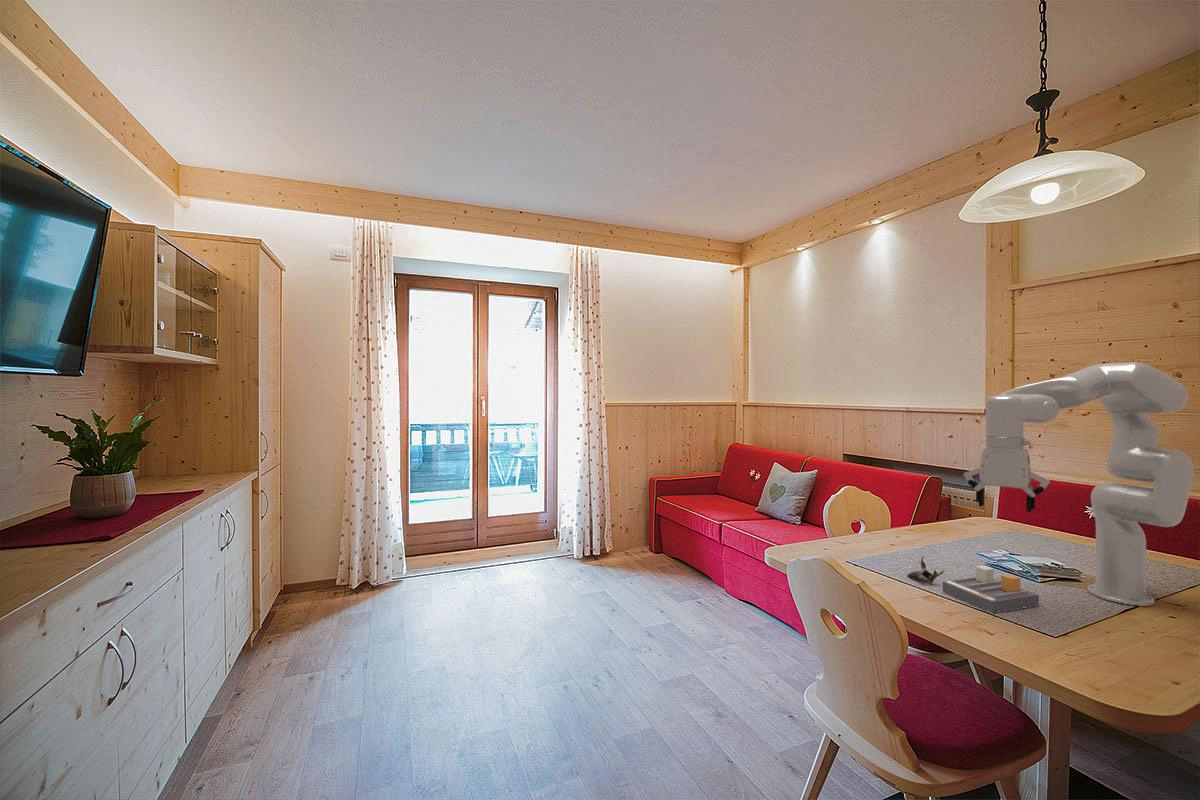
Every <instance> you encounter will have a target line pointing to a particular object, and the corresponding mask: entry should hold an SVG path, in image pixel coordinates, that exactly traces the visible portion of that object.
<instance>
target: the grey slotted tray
mask: <svg viewBox="0 0 1200 800" xmlns="http://www.w3.org/2000/svg"><path fill="white" fill-rule="evenodd" d="M944 592H945V594H946V593H947V595H949V596H951V595H952V596H951V597H953V596H954V598H956V599H958V600H960V599H961V601H963V600H964V601H963V602H965V601H966V602H965V603H967V602H969V603H968V604H970V603H971V604H970V605H972V604H974V605H976V606H975V607H977V606H978V607H977V608H979V607H980V609H981V608H983V609H985V610H984V611H986V610H988V611H990V612H997V613H999V612H998V611H1004V610H1010V609H1016V610H1018V609H1017V608H1022V609H1024V608H1023V607H1028V608H1030V607H1029V606H1035V605H1039V599H1040V598H1039V597H1040V596H1039V594H1037V593H1035V592H1031V591H1029V590H1027V589H1024V588H1021V587H1020V591H1016V592H1006V591H1003V590H1001V580H1000V579H996V578H994V581H991V582H984V583H982V582H980V581H977V580H976V576H971V577H963V578H955V579H953V580H944V581H942V593H944ZM974 605H973V606H974ZM1039 606H1040V605H1039ZM1035 607H1036V606H1035ZM983 609H982V610H983ZM988 611H987V612H988ZM1010 611H1011V610H1010ZM990 612H989V613H990ZM1004 612H1005V611H1004Z"/></svg>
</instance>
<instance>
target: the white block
mask: <svg viewBox="0 0 1200 800" xmlns="http://www.w3.org/2000/svg"><path fill="white" fill-rule="evenodd" d="M975 577H976V580H977V581H980V582H982V583H984V582H991V581H994V579H995V568H992V567H990V566H987V565H985V564H984V565H983V564H982V565H976V566H975Z"/></svg>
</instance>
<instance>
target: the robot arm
mask: <svg viewBox="0 0 1200 800" xmlns="http://www.w3.org/2000/svg"><path fill="white" fill-rule="evenodd" d="M1097 399H1098V401H1099V403H1100V405H1101V406H1102V407H1103V408H1104V410H1105V411H1106V412H1107V414H1108V416H1109V418H1110V419H1111V420H1112V424H1113V435H1112V438H1111V439H1112V440H1111V444H1110V447H1109V451H1108V457H1107V460H1106V461H1107V462H1106V469H1107V471H1108V473H1109V474H1110V475H1112V476H1113V477H1115V478H1119V479H1122V480H1123V479H1124V480H1127V481H1128V480H1129V481H1133V482H1134V481H1135V482H1139V483H1140V482H1141V483H1149V484H1153V487H1146V486H1140V485H1133V484H1127V483H1120V482H1103V483H1100V484H1097V485H1096V486H1094V488H1093V489H1092V490H1091V494H1090V503H1091V507H1092V511H1093V515H1094V521H1095V583H1093V584H1089V585H1088V586H1087V591H1088V592H1089V593H1090V594H1092V595H1094V596H1095V597H1098V598H1100V599H1103V600H1107V601H1109V602H1110V601H1111V602H1113V601H1114V602H1113V603H1117V602H1118V603H1117V604H1121V603H1123V604H1122V605H1127V604H1129V606H1134V605H1138V606H1137V607H1151V606H1153V605H1154V604H1155V598H1154V597H1153V596H1151V595H1149V594H1147V590H1148V589H1153V588H1154V587H1155V584H1154V583H1153V582H1152V581H1149V580H1147V575H1146V574H1147V539H1146V534H1145V532H1144V529H1143V528H1142V527H1141V525H1140V524H1139V523H1141V524H1146V525H1153V526H1156V527H1157V526H1158V527H1162V528H1170V527H1175V526H1178V525H1179V524H1180V523H1181V522H1182V520H1183V518H1184V517H1185V513H1186V509H1187V506H1188V501H1189V497H1190V493H1191V489H1192V484H1193V479H1194V474H1195V473H1194V472H1195V471H1194V465H1193V462H1192V459H1191V458H1190V456H1188V454H1186V453H1184V452H1183V451H1180V450H1176V449H1172V448H1170V449H1169V448H1159V447H1158V443H1159V437H1160V429H1159V427H1158V425H1157V424H1156V422H1155V420H1153V419H1152V417H1150V416H1149V415H1148V414H1173V413H1176V412H1179V411H1181V410H1183V409H1184V408H1185V407H1186V405H1187V404H1188V401H1189V394H1188V391H1187V389H1186V388H1185V386H1184V385H1183V384H1182V383H1180V381H1178V380H1176V379H1175V378H1173V377H1171V376H1169V375H1167V373H1165V372H1163V371H1161V370H1159V369H1158V368H1156V367H1154V366H1152V365H1149V364H1147V363H1144V362H1141V361H1140V362H1138V361H1130V362H1127V361H1126V362H1108V363H1106V362H1105V363H1098V364H1093V365H1090V366H1086V367H1084V368H1081V369H1080V370H1077V371H1075V372H1071V373H1070V374H1067V375H1063V376H1061V377H1058V378H1053V379H1048V380H1044V381H1039V382H1036V383H1035V382H1034V383H1030V384H1026V385H1023V386H1018V387H1017V386H1016V387H1015V388H1012V389H1009V390H1006V391H1004V392H1001V393H998V394H997V395H992V396H989V397H988V398H986V401H985V446H983V447H982V450H981V455H980V461H979V462H980V463H979V467H978V468H976V469H971V470H968V471H966V472H964V473H963V474H962V476H964V478H965V480H966V481H967V483H968V485H969V486H971V488H973V489H974V491H975V502H976V503H978V506H979V507H983V506H984V505H985V490H984V488H985V487H986V486H990V487H991V486H993V487H994V486H995V487H999V488H1001V487H1002V488H1012V489H1022V490H1023V491H1024V492H1025V493H1026V494H1027V496H1026V512H1027V513H1031V512H1032V511H1033V510H1035V509H1036V496H1038V495H1040V494H1041V493H1043V492H1044V490H1046V488H1047V487H1048V485H1049V484H1050V479H1047V478H1046V477H1043V476H1041V475H1039V474H1036V473H1035V472H1034V471H1031V466H1032V465H1031V458H1030V453H1029V449H1027V448H1024V447H1025V446H1031V445H1032V440H1031V439H1027V438H1026V437H1024V423H1025V424H1026V423H1027V424H1045V423H1048V422H1051V421H1053V420H1054V419H1056V417H1057V416H1058V414H1059V410H1062V409H1070V408H1075V407H1076V408H1077V407H1080V406H1083V405H1086V404H1087V403H1090V402H1092V401H1095V400H1097ZM976 475H979V483H978V482H977V481H975V480H974V478H973V476H976ZM1032 479H1033V480H1034V481H1037V482H1039V485H1038V487H1036V488H1033V487H1032V486H1031V484H1032Z"/></svg>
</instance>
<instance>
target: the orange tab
mask: <svg viewBox="0 0 1200 800" xmlns="http://www.w3.org/2000/svg"><path fill="white" fill-rule="evenodd" d="M1000 581H1001V590H1003V591H1006V592H1016V591H1020V588H1021V577H1020V576H1017V575H1013V574H1010V573H1006V574H1000Z"/></svg>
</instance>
